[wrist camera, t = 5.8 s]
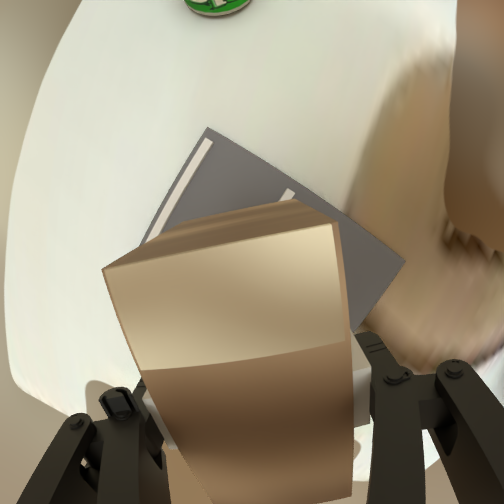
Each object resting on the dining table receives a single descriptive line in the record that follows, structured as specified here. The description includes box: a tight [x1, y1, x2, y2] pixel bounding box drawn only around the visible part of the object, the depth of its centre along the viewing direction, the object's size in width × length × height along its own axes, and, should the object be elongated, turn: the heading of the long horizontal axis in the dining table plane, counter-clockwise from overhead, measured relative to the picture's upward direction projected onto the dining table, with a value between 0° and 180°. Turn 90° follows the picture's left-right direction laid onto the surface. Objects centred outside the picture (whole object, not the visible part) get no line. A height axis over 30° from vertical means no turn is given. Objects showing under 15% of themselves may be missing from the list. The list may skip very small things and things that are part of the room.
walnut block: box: [101, 199, 354, 504], centre depth 13 cm, size 12×6×9 cm, turn 12°
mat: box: [139, 127, 405, 333], centre depth 29 cm, size 24×16×1 cm, turn 58°
